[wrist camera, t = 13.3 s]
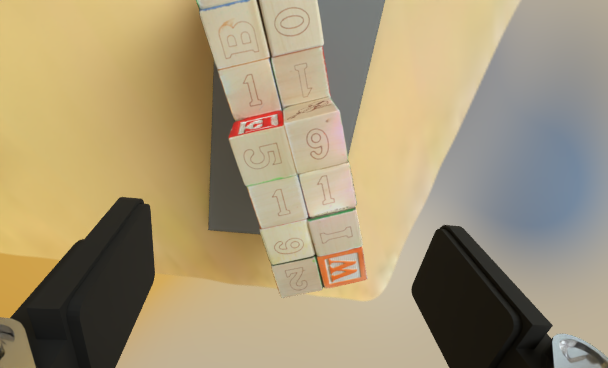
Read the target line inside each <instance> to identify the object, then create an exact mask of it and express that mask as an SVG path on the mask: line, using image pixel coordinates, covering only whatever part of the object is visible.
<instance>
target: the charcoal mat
mask: <svg viewBox="0 0 608 368" xmlns="http://www.w3.org/2000/svg"><path fill="white" fill-rule="evenodd" d="M317 1H318V7H319V13H320V19H321V26H322V33H323V39H324V45H323V51H324V57H325V63H326V69H327V76H328V82H329V88H330V94H331V99H332V100H333V102H334V103H335V105H336V106H337V108H338V109H339V110H340V113H341V120H342V125H343V131H344V137H345V142H346V148H347V153H348V154H349V150H350V146H351V141H352V137H353V133H354V129H355V125H356V120H357V116H358V112H359V108H360V104H361V99H362V95H363V91H364V87H365V83H366V78H367V74H368V70H369V66H370V62H371V57H372V53H373V49H374V45H375V40H376V36H377V32H378V28H379V24H380V19H381V15H382V11H383V7H384V3H385V0H317ZM234 122H235V119H234V118H233V115H232V113H231V110H230V107H229V104H228V101H227V98H226V95H225V92H224V89H223V86H222V83H221V80H220V77H219V73H218V69H217V67H216V64H215V61H214V76H213V107H212V137H211V168H210V198H209V229H208V230H214V231H226V232H238V233H250V234H260V230H259V222H258V219H257V216H256V213H255V210H254V208H253V205H252V202H251V199H250V196H249V192H248V189H247V187H246V186H245V185H244V182H243V179H242V176H241V174H240V171H239V168H238V165H237V162H236V159H235V156H234V154H233V151H232V148H231V145H230V142H229V139H228V137H229V134H230V131H231V129H232V126H233V124H234Z"/></svg>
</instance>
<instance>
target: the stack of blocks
mask: <svg viewBox="0 0 608 368" xmlns="http://www.w3.org/2000/svg"><path fill="white" fill-rule="evenodd" d="M196 2H197V4H198V7H199V14H200V18H201V21H202V24H203V27H204V30H205V33H206V36H207V39H208V42H209V45H210V48H211V51H212V55H213V58H214V61H215V64H216V67H217V69H218V73H219V77H220V80H221V83H222V86H223V89H224V92H225V95H226V98H227V101H228V104H229V107H230V110H231V113H232V115H233V118H234V119H235V122H234V124H233V126H232V129H231V131H230V134H229V137H228V139H229V142H230V145H231V148H232V151H233V154H234V156H235V159H236V162H237V165H238V168H239V171H240V174H241V176H242V179H243V182H244V185H245V186H246V187H247V189H248V192H249V196H250V199H251V202H252V205H253V208H254V210H255V213H256V216H257V219H258V222H259V230H260V234H261V237H262V240H263V243H264V246H265V248H266V251H267V255H268V258H269V261H270V263H271V268H272V272H273V275H274V278H275V281H276V284H277V287H278V290H279V293H280V296H281V297H282V298H285V297H290V296H294V295H299V294H304V293H309V292H315V291H320V290H322V289H323V287H324V288H333V287H337V286H341V285H346V284H350V283H355V282H359V281H363V280H366V279H367V273H366V267H365V261H364V254H363V248H362V245H363V243H362V237H361V232H360V226H359V221H358V215H357V211H356V208H355V206H356V205H357V201H356V195H355V190H354V184H353V179H352V173H351V168H350V164H349V161H348V153H347V148H346V142H345V137H344V131H343V125H342V120H341V113H340V110H339V109H338V108H337V106H336V105H335V103H334V102H333V100H332V99H331V94H330V88H329V82H328V76H327V69H326V63H325V57H324V51H323V45H324V39H323V33H322V26H321V19H320V13H319V7H318V1H317V0H196Z"/></svg>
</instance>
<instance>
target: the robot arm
mask: <svg viewBox="0 0 608 368" xmlns="http://www.w3.org/2000/svg"><path fill="white" fill-rule="evenodd" d="M154 276H155V268H154V254H153V240H152V225H151V211H150V205H149V204H144V201H143V200H142V199H138V198H126V197H120V198H119V199H118V200H117V201H116V203H115V204H114V205H113V206H112V207H111V208H110V210H109V211H108V212H107V213H106V214H105V216H104V217H103V218H102V219H101V220H100V221H99V223H98V224H97V225H96V226H95V227H94V228H93V230H92V231H91V232H90V233H89V234H88V236H87V237H86V238H85V239H82V240H79V241H78V242H76V243H75V244H74V245H73V246H72V248H71V249H70V250H69V251H68V252H67V253H66V255H65V256H64V257H63V258H62V259H61V260H60V261H59V263H58V264H57V265H56V266H55V267H54V269H52V271H51V272H50V273H49V274H48V275H47V276H46V277H45V279H44V280H43V281H42V282H41V283H40V284H39V285H38V287H37V288H36V289H35V290H34V291H33V292H32V294H31V295H30V296H29V297H28V298H27V299H26V300H25V302H24V303H23V304H22V305H21V306H20V307H19V308H18V310H17V311H16V312H15V313H14V314H13V315H12V316H11V318H0V368H115V367H116V365H117V363H118V360H119V358H120V356H121V354H122V351H123V349H124V347H125V345H126V342H127V340H128V338H129V336H130V333H131V331H132V329H133V327H134V325H135V322H136V320H137V318H138V316H139V313H140V311H141V309H142V307H143V304H144V302H145V300H146V298H147V295H148V293H149V291H150V289H151V286H152V284H153V281H154ZM412 295H413V297H414V299H415V301H416V303H417V305H418V307H419V309H420V311H421V313H422V315H423V317H424V319H425V321H426V323H427V325H428V327H429V329H430V331H431V333H432V335H433V337H434V339H435V340H436V343H437V344H438V346H439V348H440V350H441V352H442V354H443V356H444V358H445V360H446V362H447V364H448V366H449V368H608V358H607V357H606V356H605V355H604V354H603V353H602V352H601V351H599V350H598V349H597V348H595V347H594V346H593V345H591V344H589V343H587V342H586V341H584V340H582V339H580V338H577V337H575V336H572V335H568V334H557V335H555V336H554V337H553V338H552V339H551V338H550V337H549V336H548V334H547V332H548V331H549V330H550V328H551V327H552V324H551V323H550V322H549V321H548V320H547V319H546V318H545V317H544V316H543V315H542V313H540V311H539V310H538V309H537V308H536V307H535V306H534V305H533V304H532V302H530V300H529V299H528V298H527V297H526V296H525V295H524V294H523V293H522V292H521V291H520V289H519V288H518V287H517V286H516V285H515V284H514V283H513V282H512V281H511V280H510V279H509V277H508V276H507V275H506V274H505V273H504V272H503V271H502V270H501V269H500V268H499V267H498V266H497V264H496V263H495V262H494V261H493V260H492V259H491V258H490V257H489V256H488V255H487V254H486V252H485V251H484V250H483V249H482V248H481V247H480V246H479V245H478V244H477V243H476V242H475V241H474V239H473V238H472V237H471V236H470V235H469V234H468V233H467V232H466V231H465V230H464V229H463V228H462V227H460V226H450V225H444V226H442V227H441V228H440V229H437V230H436V232H435V234H434V236H433V238H432V241H431V243H430V245H429V248H428V250H427V252H426V255H425V257H424V259H423V262H422V264H421V266H420V269H419V271H418V273H417V276H416V278H415V280H414V283H413V285H412Z"/></svg>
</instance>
